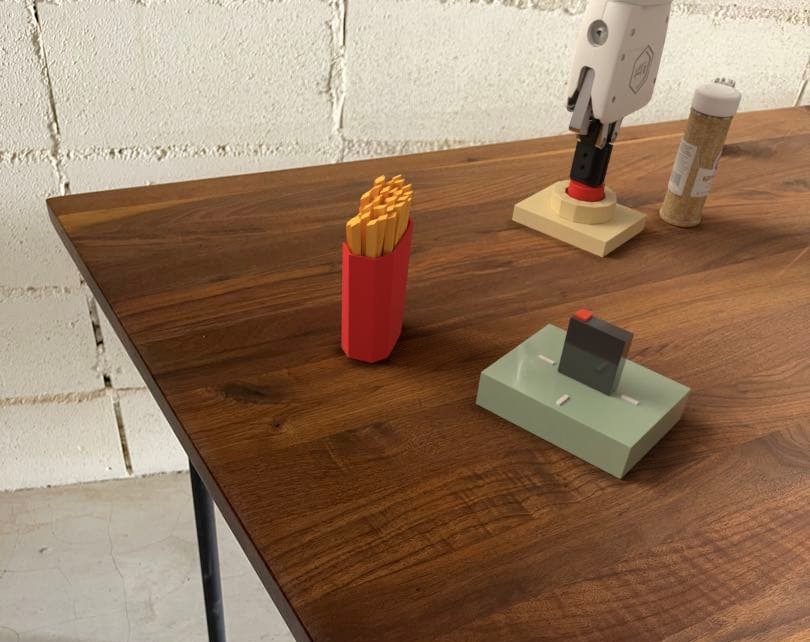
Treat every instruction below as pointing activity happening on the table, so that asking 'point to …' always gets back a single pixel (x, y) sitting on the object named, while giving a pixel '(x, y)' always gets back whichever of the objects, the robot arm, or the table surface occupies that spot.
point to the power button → (585, 192)
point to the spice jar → (699, 153)
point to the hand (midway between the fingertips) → (586, 181)
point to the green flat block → (581, 404)
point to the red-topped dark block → (594, 352)
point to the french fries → (376, 271)
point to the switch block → (580, 218)
